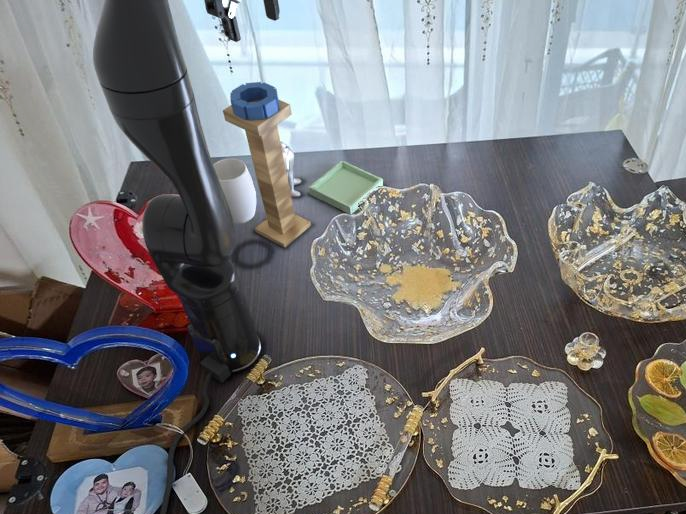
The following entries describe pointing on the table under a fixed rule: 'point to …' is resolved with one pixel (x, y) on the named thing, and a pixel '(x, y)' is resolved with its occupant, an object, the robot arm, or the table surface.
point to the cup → (237, 188)
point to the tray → (344, 186)
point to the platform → (271, 175)
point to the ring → (254, 109)
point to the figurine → (290, 169)
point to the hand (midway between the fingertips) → (254, 29)
